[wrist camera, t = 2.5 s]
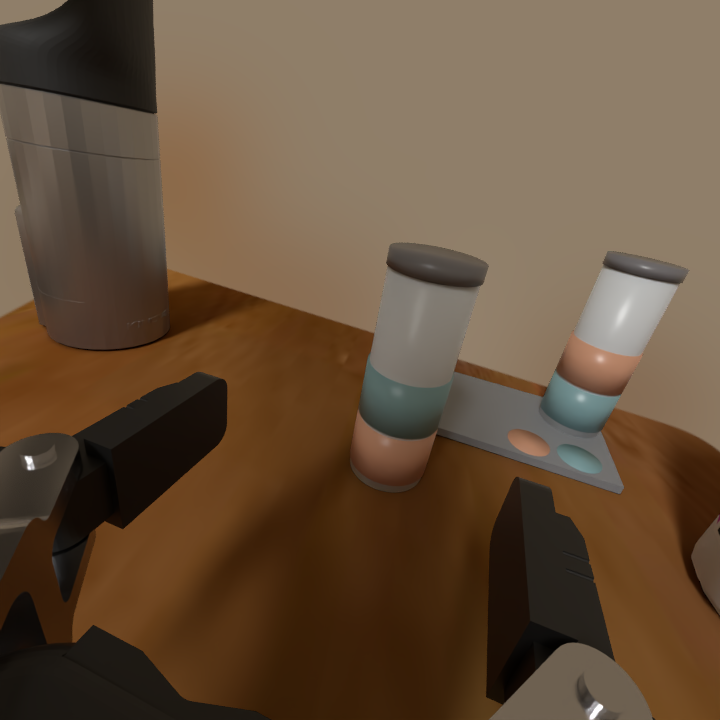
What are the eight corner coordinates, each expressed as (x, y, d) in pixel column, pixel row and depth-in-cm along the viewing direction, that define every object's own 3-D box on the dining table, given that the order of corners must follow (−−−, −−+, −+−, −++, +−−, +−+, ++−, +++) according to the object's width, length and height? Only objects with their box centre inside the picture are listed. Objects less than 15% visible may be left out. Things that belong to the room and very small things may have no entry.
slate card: (415, 427, 29) (417, 420, 29) (435, 372, 38) (437, 366, 37) (619, 494, 26) (624, 487, 26) (589, 417, 35) (592, 411, 34)
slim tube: (337, 476, 23) (377, 251, 17) (361, 432, 27) (401, 238, 21) (415, 505, 22) (487, 276, 16) (428, 454, 26) (489, 258, 20)
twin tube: (540, 426, 31) (617, 258, 25) (535, 398, 35) (600, 247, 29) (605, 446, 30) (702, 275, 24) (592, 414, 34) (672, 262, 28)
